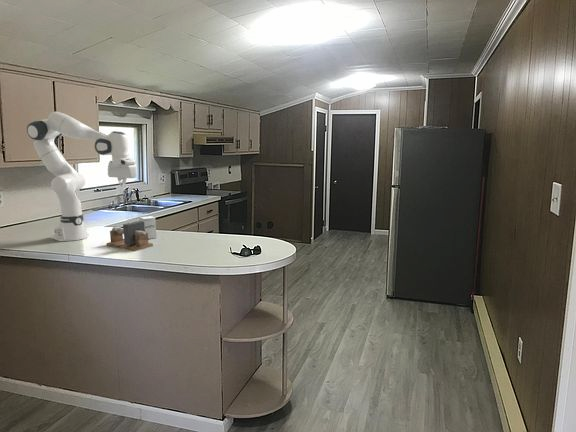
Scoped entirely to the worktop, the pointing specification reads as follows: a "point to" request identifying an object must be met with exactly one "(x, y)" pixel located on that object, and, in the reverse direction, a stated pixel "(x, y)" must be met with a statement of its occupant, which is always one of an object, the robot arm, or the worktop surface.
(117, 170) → the robot arm
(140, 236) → the pipe stand
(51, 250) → the worktop surface
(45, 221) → the worktop surface
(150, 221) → the supplement box
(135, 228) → the grey flat block
